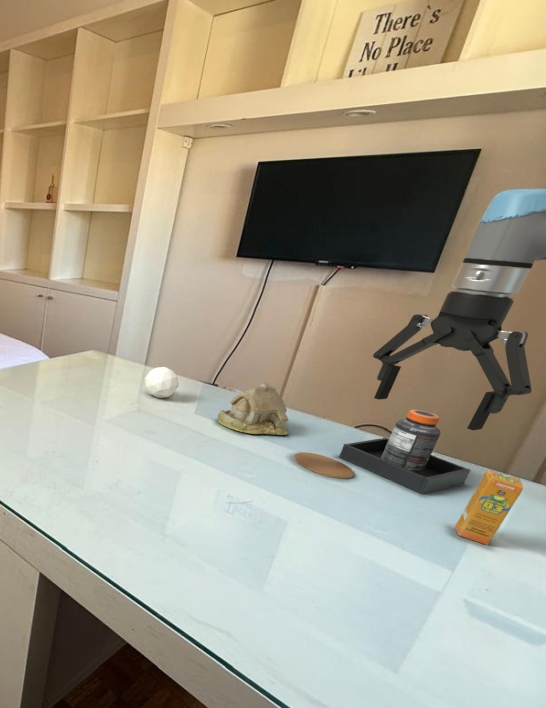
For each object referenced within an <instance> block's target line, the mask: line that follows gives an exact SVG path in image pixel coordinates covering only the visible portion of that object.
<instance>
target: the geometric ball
mask: <svg viewBox="0 0 546 708" xmlns="http://www.w3.org/2000/svg"><path fill="white" fill-rule="evenodd" d="M144 386H145V389H146V391H147V392H148V394H149V395H151V396H153V397H155V398H157V399H165V398H166V399H167V398H169V397H170V396H171V395H173V394H174V393H175V392H176V390H177V389H178V388H179V378H178V375H177V374H176V372H175V371H174V370H172V369H171V368H168V367H167V366H160V367H154V368H153V369H151V370H150V371H149V372H148V374H146V376H145V378H144Z"/></svg>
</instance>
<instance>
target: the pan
mask: <svg viewBox="0 0 546 708" xmlns="http://www.w3.org/2000/svg"><path fill="white" fill-rule="evenodd" d="M381 438H382V439H381ZM388 441H389V438H388V437H380V438H375V439H367V440H362V441H356V442H355V441H354V442H349V443H344V444H343V447H342V448H341V452H340V453H339V455H338V458H340V459H342V460H344V461H346V462H349V463H351V464H353V465H355V466H357V467H360V468H361V469H364V470H366V471H369V472H370V473H373V474H375V475H378V476H380V477H382V478H384V479H386V480H389V481H391V482H393V483H395V484H397V485H400V486H402V487H405V488H407V489H409V490H412V491H414V492H416V493H418V494H420V495H424V494H428V493H432V492H435V491H440V490H444V489H448V488H453V487H456V486H460V485H464V484H465V482H466V481H467V479H468V477H469V476H470V475H469V474H470V473H471V469H469V468H466V467H464V466H463V465H459V464H456V463H453V462H451V461H448V460H446V459H443V458H440V457H437V456H435V455H433V454H431V455H430V457H429V459H428V461H427V463H426V466H425V468H424V470H423V472H422V474H420V475H419V474H417V473H415V472H412V471H410V470H407V469H405V468H403V467H400V466H398V465H395V464H393V463H391V462H388V461H386V460H383V459H381V457H382V455H383V452H384V450H385V448H386V445H387V443H388Z"/></svg>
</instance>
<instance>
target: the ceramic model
mask: <svg viewBox="0 0 546 708" xmlns="http://www.w3.org/2000/svg"><path fill="white" fill-rule="evenodd" d="M229 404H230V405H231V409H228V410H227V409H226V410H223V409H222V410H220V411H218V413H217V421H218V423H219V424H220V425H222V426H224V427H226V428H228V429H231V430H233V431H237V432H241V433H246V434H251V435H252V434H253V435H261V434H262V435H264V434H265V435H278V436H285V435H287V436H288V434H289V430H288V428H287V425H286V423H287V422H288V421H289V416H288V415H287V406H286V404H285V401H284V400H283V398H282V397H281V396H280V394H279V393H278V391H277V390H276V387H274V386H271V385H270V384H268V383H265V382H263V383H261V385H260V386H255V387H251V388H249V389H247V390H245V391H244V392H240V394H238V395H236V396H235V397H233V398H232V400H230V402H229Z"/></svg>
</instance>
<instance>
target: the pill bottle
mask: <svg viewBox="0 0 546 708" xmlns="http://www.w3.org/2000/svg"><path fill="white" fill-rule="evenodd" d="M440 418H441V417H440V416H439V415H437V414H436V413H432V412H429V411H425V410H419V409H410V410H409V411H408V413H407V414H406V418H403V419H398V421H396V422H395V425H394V427H393V429H392V431H391V434H390V436H389V438H388V439H389V441H388V443H387V445H386V448H385V450H384V452H383V455H382V457H381V459H383V460H386V461H388V462H391V463H393V464H395V465H398V466H400V467H403V468H405V469H407V470H410V471H412V472H415V473H417V474H419V475H420V474H422V472H423V470H424V468H425V466H426V463H427V461H428V459H429V457H430V455H432V453H433V451H434V449H435V446H436V445H437V442H438V441H439V439H440V436H441V430H440V429H439V428H438V427H437V424H439V421H440Z"/></svg>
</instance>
